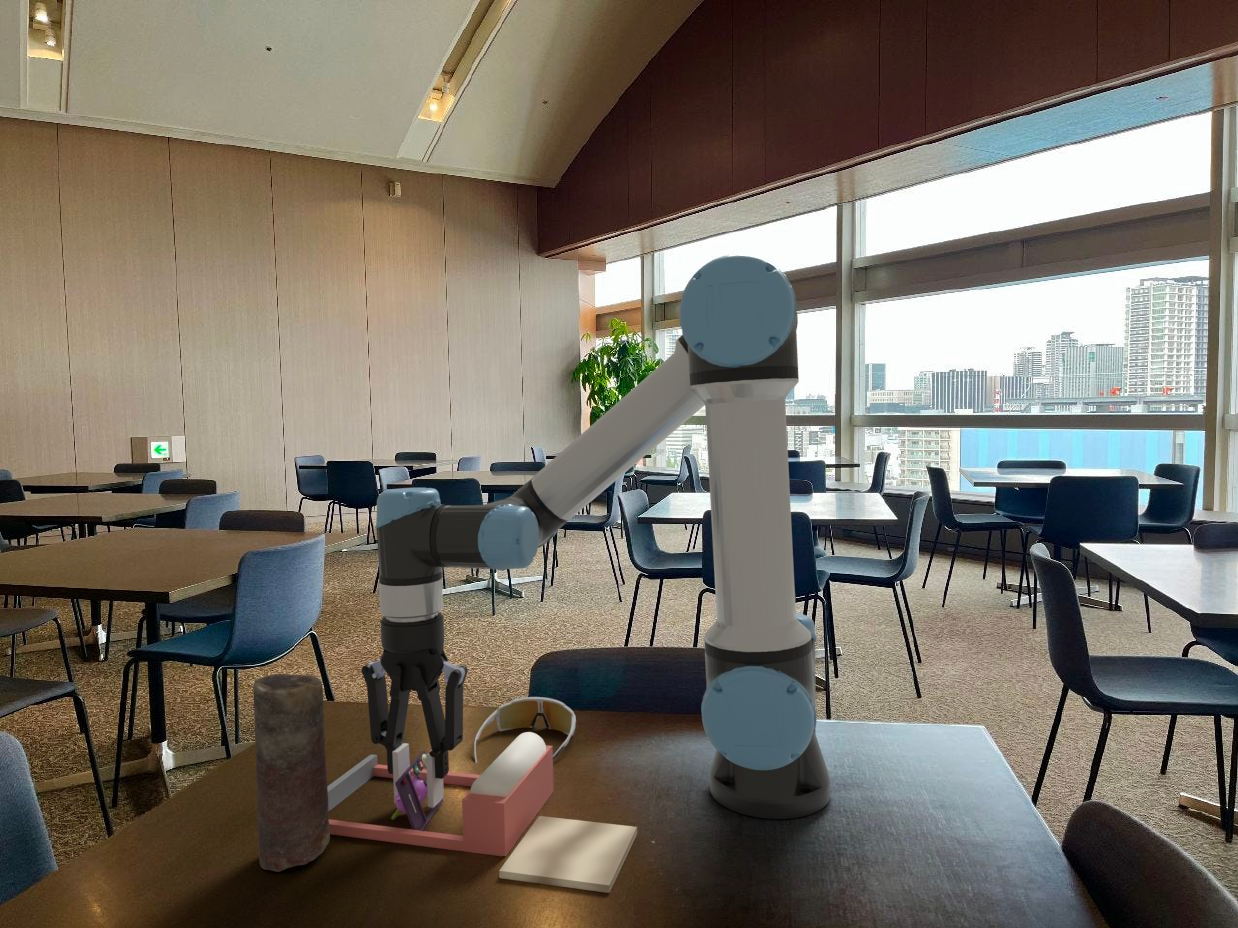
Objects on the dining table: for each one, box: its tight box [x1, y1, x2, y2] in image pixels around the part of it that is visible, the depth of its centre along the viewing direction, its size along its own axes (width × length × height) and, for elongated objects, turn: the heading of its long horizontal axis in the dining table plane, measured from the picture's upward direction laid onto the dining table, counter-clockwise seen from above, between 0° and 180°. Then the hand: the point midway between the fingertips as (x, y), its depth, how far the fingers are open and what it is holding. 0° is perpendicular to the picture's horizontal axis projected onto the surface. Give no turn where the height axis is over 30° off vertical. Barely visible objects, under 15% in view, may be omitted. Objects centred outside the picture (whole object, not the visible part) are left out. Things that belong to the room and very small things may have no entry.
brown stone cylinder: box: [252, 673, 331, 873], centre depth 90 cm, size 8×7×20 cm
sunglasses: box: [473, 696, 577, 764], centre depth 120 cm, size 14×15×5 cm
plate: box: [498, 815, 638, 894], centre depth 89 cm, size 12×12×1 cm
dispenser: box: [327, 731, 555, 858], centre depth 100 cm, size 26×16×8 cm, turn 75°
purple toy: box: [390, 750, 444, 831], centre depth 98 cm, size 7×5×9 cm
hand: (419, 799), depth 101 cm, fingers closed on purple toy, 4 cm apart
